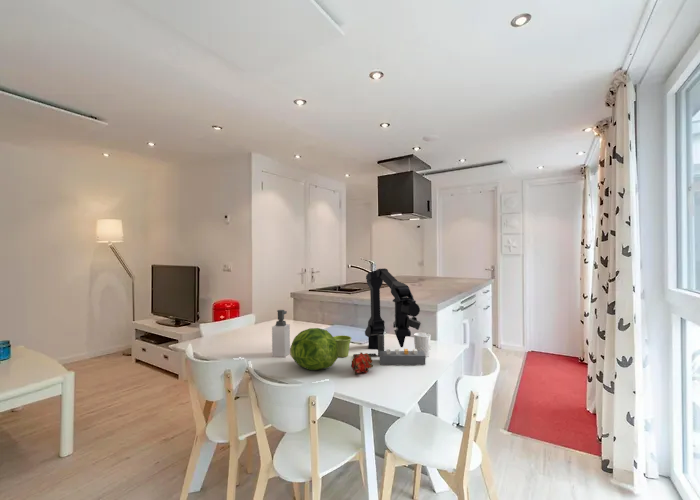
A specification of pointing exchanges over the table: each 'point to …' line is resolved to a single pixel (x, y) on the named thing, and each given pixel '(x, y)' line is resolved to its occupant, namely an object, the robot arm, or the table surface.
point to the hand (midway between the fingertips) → (401, 347)
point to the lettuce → (314, 349)
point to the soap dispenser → (281, 336)
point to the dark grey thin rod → (368, 354)
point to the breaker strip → (402, 357)
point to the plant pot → (343, 345)
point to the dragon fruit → (361, 363)
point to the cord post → (380, 343)
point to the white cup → (422, 343)
